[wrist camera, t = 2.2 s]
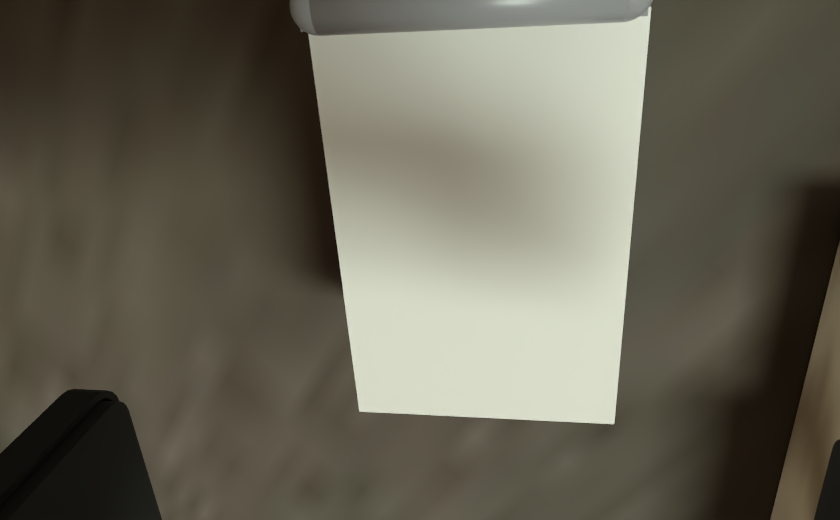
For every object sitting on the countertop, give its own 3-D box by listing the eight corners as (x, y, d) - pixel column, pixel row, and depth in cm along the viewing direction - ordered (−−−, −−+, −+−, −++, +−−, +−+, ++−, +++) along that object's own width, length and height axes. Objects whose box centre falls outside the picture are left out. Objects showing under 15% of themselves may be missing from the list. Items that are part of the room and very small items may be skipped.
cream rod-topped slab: (360, -44, 16) (268, -19, 10) (622, -61, 15) (674, -43, 9) (395, 309, 20) (343, 458, 15) (597, 313, 19) (622, 475, 14)
